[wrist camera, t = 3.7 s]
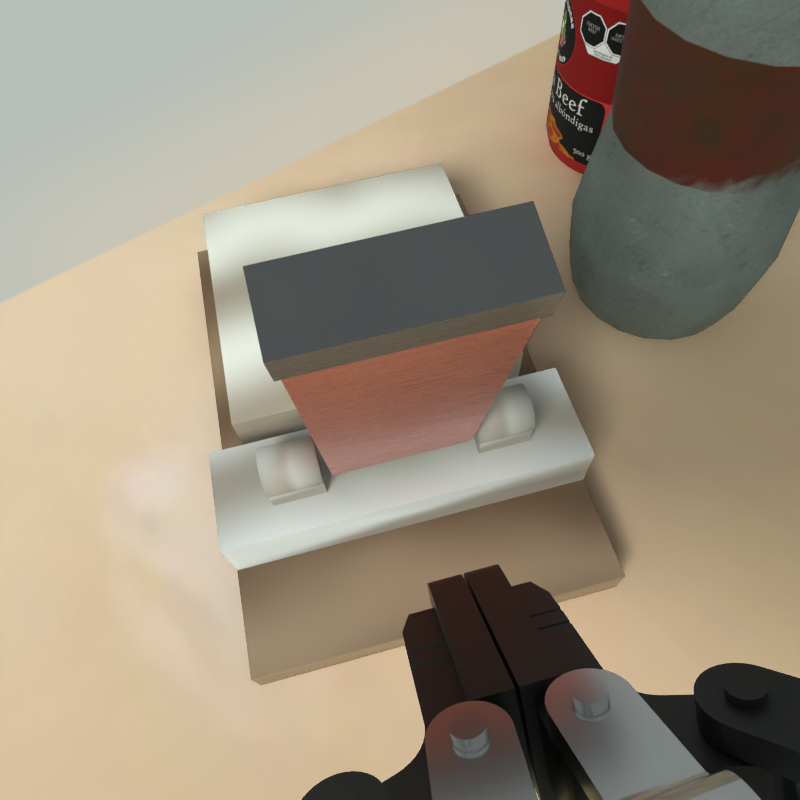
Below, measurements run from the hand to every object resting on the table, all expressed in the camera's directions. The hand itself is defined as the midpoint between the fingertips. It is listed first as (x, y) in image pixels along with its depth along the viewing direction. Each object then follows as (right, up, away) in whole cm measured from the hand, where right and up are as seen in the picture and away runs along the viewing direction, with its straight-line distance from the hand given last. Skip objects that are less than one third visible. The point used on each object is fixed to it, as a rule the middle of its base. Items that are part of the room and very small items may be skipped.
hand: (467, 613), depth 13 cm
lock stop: (-1, +3, +10) cm, 11 cm away
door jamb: (-2, +4, +17) cm, 17 cm away
